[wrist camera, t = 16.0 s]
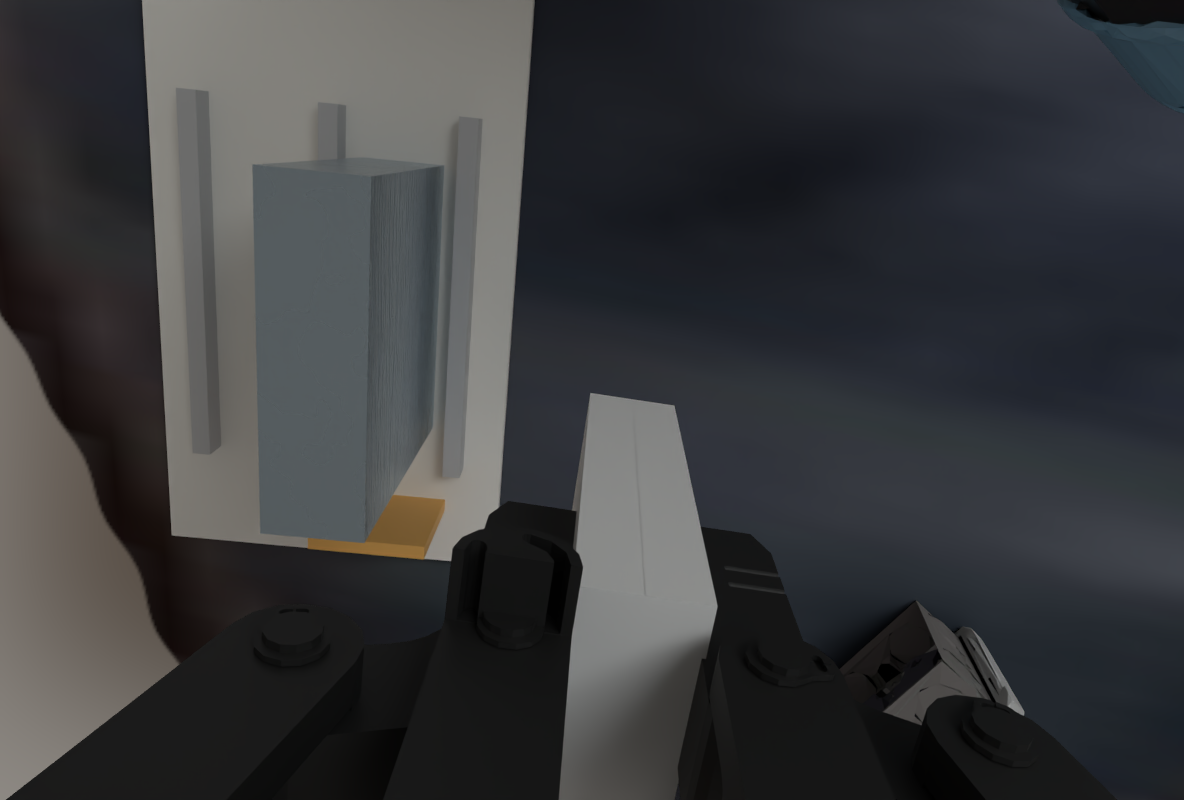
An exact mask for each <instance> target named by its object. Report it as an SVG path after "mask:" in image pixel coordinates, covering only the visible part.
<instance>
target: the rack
mask: <svg viewBox="0 0 1184 800" xmlns="http://www.w3.org/2000/svg"><path fill="white" fill-rule="evenodd" d="M534 6H535V0H142V9H143V27H144V45H145V63H146V81H147V99H148V117H149V135H150V153H151V171H152V189H153V207H154V225H155V243H156V261H157V279H158V297H159V315H160V333H161V351H162V369H163V387H164V405H165V423H166V441H167V459H168V477H169V495H170V513H171V531H172V535H173V536H184V537H194V538H205V539H216V540H227V541H238V542H249V543H259V544H270V545H281V546H292V547H303V548H308V549H316V550H326V551H337V552H348V553H359V554H370V555H381V556H391V557H402V558H413V559H433V560H443V561H451V558H452V549H453V547H454V546H455V545H456V543H457V542H458V541H459V540H460V539H461V538H462V537H463V536H466V535H468V534H470V533H472V532H475V531H477V530H480V529H484V528H485V525H486V522H487V519H488V516H489V514H491V513H492V512H493V511H495V510H496V509H498V508H499V506H500V492H501V477H502V463H503V449H504V434H505V420H506V406H507V392H508V377H509V363H510V349H511V334H512V320H513V306H514V292H515V277H516V263H517V249H518V234H519V220H520V206H521V191H522V177H523V163H524V149H525V134H526V120H527V106H528V91H529V77H530V63H531V49H532V34H533V20H534ZM360 157H365V158H375V159H385V160H395V161H405V162H415V163H425V164H435V165H444V184H443V207H442V230H441V253H440V276H439V299H438V322H437V345H436V368H435V391H434V414H433V428H432V430H431V432H430V433H429V435H428V437H427V438H426V440H425V442H424V443H423V445H422V447H421V448H420V450H419V452H418V453H417V455H416V457H415V459H414V460H413V462H412V464H411V465H410V467H409V469H408V470H407V472H406V474H405V475H404V477H403V479H402V480H401V482H400V484H399V486H398V487H397V489H396V491H395V492H394V494H393V496H392V497H391V499H390V501H389V502H388V504H387V506H386V507H385V509H384V511H383V512H382V514H381V516H380V518H379V519H378V521H377V523H376V524H375V526H374V528H373V529H372V531H371V533H370V534H369V536H368V538H367V539H366V541H365V543H358V542H347V541H336V540H325V539H314V538H304V537H293V536H282V535H271V534H260V500H259V453H258V407H257V360H256V313H255V266H254V220H253V173H252V165H254V164H269V163H284V162H299V161H314V160H329V159H344V158H360Z"/></svg>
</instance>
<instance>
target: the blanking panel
mask: <svg viewBox="0 0 1184 800" xmlns="http://www.w3.org/2000/svg"><path fill="white" fill-rule="evenodd" d="M252 173H253V220H254V266H255V313H256V360H257V407H258V453H259V500H260V534H271V535H282V536H293V537H304V538H314V539H325V540H336V541H347V542H358V543H365V541H366V539H367V538H368V536H369V534H370V533H371V531H372V529H373V528H374V526H375V524H376V523H377V521H378V519H379V518H380V516H381V514H382V512H383V511H384V509H385V507H386V506H387V504H388V502H389V501H390V499H391V497H392V496H393V494H394V492H395V491H396V489H397V487H398V486H399V484H400V482H401V480H402V479H403V477H404V475H405V474H406V472H407V470H408V469H409V467H410V465H411V464H412V462H413V460H414V459H415V457H416V455H417V453H418V452H419V450H420V448H421V447H422V445H423V443H424V442H425V440H426V438H427V437H428V435H429V433H430V432H431V430H432V428H433V414H434V391H435V368H436V345H437V322H438V299H439V276H440V253H441V230H442V207H443V184H444V165H435V164H425V163H415V162H405V161H395V160H385V159H375V158H365V157H360V158H344V159H329V160H314V161H299V162H284V163H269V164H254V165H252Z"/></svg>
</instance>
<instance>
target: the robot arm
mask: <svg viewBox="0 0 1184 800" xmlns="http://www.w3.org/2000/svg"><path fill="white" fill-rule="evenodd" d="M1057 2H1058V3H1059V5H1060V6H1061V8H1062V9H1063V10H1064V12H1065V13H1066V14H1067V15H1068V16H1069V18H1070V19H1072V20H1073V21H1075V22H1076V23H1077V24H1079V25H1080V26H1081V27H1083V28H1085V29H1088V30H1090V31H1093V32H1094V33H1095V34H1096V35H1097V36H1098V37H1099V38H1100V40H1101V41H1102V42H1103V43H1104V44H1105V46H1106V47H1107V48H1108V49H1109V50H1110V51H1111V53H1112V54H1113V55H1114V56H1115V57H1116V59H1117V60H1118V61H1119V62H1120V63H1121V65H1122V66H1123V67H1124V68H1125V69H1126V70H1127V72H1128V73H1129V74H1130V75H1131V76H1132V78H1133V79H1134V80H1135V81H1136V82H1137V83H1138V85H1139V86H1140V87H1141V88H1142V89H1143V90H1144V91H1145V92H1146V93H1147V94H1148V95H1150V96H1151V97H1152V98H1154V99H1155V100H1157V101H1158V102H1160V103H1161V104H1163V105H1165V106H1167V107H1168V108H1170V109H1173V110H1175V111H1177V112H1179V113H1184V0H1057ZM678 781H679V788H680V798H681V800H1117V799H1116V798H1115V797H1114V796H1113V795H1112V794H1111V793H1110V792H1109V791H1108V790H1107V789H1106V788H1105V787H1104V786H1103V785H1102V784H1101V783H1100V782H1099V781H1098V780H1097V779H1096V778H1094V777H1093V776H1092V775H1091V774H1090V773H1089V772H1088V771H1087V770H1086V769H1085V768H1084V767H1083V766H1082V765H1081V764H1080V763H1079V762H1078V761H1077V760H1076V759H1075V758H1074V757H1073V756H1072V755H1071V754H1070V753H1069V752H1068V751H1067V750H1066V749H1065V748H1064V747H1063V746H1062V745H1061V744H1060V743H1059V742H1058V741H1057V740H1056V739H1055V738H1054V737H1053V736H1051V735H1050V734H1049V733H1047V732H1046V731H1045V730H1044V729H1042V728H1041V727H1040V726H1039V725H1037V724H1036V723H1035V722H1034V721H1032V720H1030V719H1029V718H1027V717H1025V716H1023V715H1021V714H1019V713H1017V712H1016V711H1014V710H1013V709H1011V708H1010V707H1008V706H1006V705H1003V704H1000V703H998V702H995V703H994V702H992V700H988V699H984V698H979V697H970V696H962V695H952V696H947V697H941V698H937V699H936V700H935V701H934V702H933V703H932V704H931V705H930V706H929V707H928V708H927V710H926V713H925V716H924V719H923V722H922V725H919V724H916V723H913V722H911V721H908V720H905V719H902V718H899V717H896V716H893V715H891V714H888V713H885V712H882V711H879V710H877V709H874V708H872V707H869V706H867V705H865V704H862V703H860V702H858V701H856V700H854V699H853V697H852V695H851V692H850V690H849V687H848V685H847V683H846V680H845V678H844V676H843V674H842V673H841V671H840V670H839V668H838V667H837V666H836V664H835V663H834V661H833V660H832V659H830V658H829V657H828V656H826V655H825V654H824V653H823V652H821V651H820V650H819V649H817V648H816V647H814V646H812V645H810V644H808V643H806V642H804V641H803V639H802V636H801V634H800V631H799V628H798V626H797V623H796V620H795V617H794V615H793V612H792V609H791V607H790V604H789V601H788V598H787V596H786V594H784V588H783V585H782V582H781V579H780V578H779V577H778V571H777V569H776V566H775V563H774V560H773V558H772V555H771V553H770V552H769V551H768V550H767V549H766V548H765V547H763V546H762V545H761V544H760V543H759V542H758V541H757V540H756V539H755V538H754V537H753V536H752V535H751V534H746V533H739V532H732V531H725V530H718V529H712V528H705V527H700V522H699V518H698V513H697V508H696V504H695V499H694V495H693V490H692V485H691V481H690V476H689V471H688V467H687V462H686V458H685V453H684V448H683V444H682V439H681V434H680V430H679V425H678V420H677V416H676V411H675V407H674V406H673V405H666V404H660V403H653V402H646V401H640V400H633V399H627V398H620V397H613V396H607V395H600V394H593V393H590V399H589V405H588V412H587V418H586V425H585V431H584V437H583V444H582V450H581V457H580V463H579V469H578V476H577V482H576V488H575V495H574V501H573V508H572V510H565V509H558V508H552V507H545V506H538V505H531V504H525V503H518V502H511V501H508V502H506V503H505V504H503V505H502V506H501V507H499V508H498V509H496V510H495V511H493V512H492V513H491V514H489V516H488V519H487V522H486V525H485V528H484V529H480V530H477V531H475V532H472V533H470V534H468V535H466V536H463V537H462V538H461V539H460V540H459V541H458V542H457V543H456V545H455V546H454V547H453V549H452V558H451V567H450V576H449V585H448V594H447V603H446V612H445V620H444V623H443V626H442V629H440V630H438V631H436V632H434V633H432V634H430V635H429V636H425V637H422V638H419V639H416V640H412V641H407V642H400V643H392V644H378V645H364V640H363V632H362V630H361V629H360V628H359V626H358V625H357V624H356V623H355V622H354V621H353V620H352V619H351V618H350V617H348V616H346V615H344V614H342V613H340V612H338V611H336V610H333V609H331V608H326V607H320V606H314V605H309V604H296V605H293V604H289V605H279V606H275V607H271V608H267V609H263V610H259V611H256V612H253V613H251V614H249V615H247V616H245V617H243V618H242V619H240V620H238V621H236V622H234V623H233V624H231V625H230V626H229V627H227V628H226V629H225V630H223V631H222V632H221V633H220V634H218V635H217V636H216V637H214V638H213V639H212V640H211V641H209V642H208V643H207V644H205V645H204V646H203V647H202V648H200V649H199V650H198V651H196V652H195V653H194V654H193V655H191V656H190V657H189V658H187V659H186V660H185V661H184V662H182V663H181V664H180V665H178V666H177V667H176V668H175V669H173V670H172V671H171V672H169V673H168V674H167V675H166V676H165V677H163V678H162V679H161V680H159V681H158V682H157V683H155V684H154V685H153V686H151V687H150V688H149V689H148V690H146V691H145V692H144V693H143V694H141V695H140V696H139V697H138V698H136V699H135V700H134V701H132V702H131V703H130V704H129V705H127V706H126V707H125V708H123V709H122V710H121V711H119V712H118V713H117V714H116V715H114V716H113V717H112V718H110V719H109V720H108V721H107V722H105V723H104V724H103V725H101V726H100V727H99V728H98V729H96V730H95V731H94V732H92V733H91V734H90V735H89V736H87V737H86V738H85V739H84V740H82V741H81V742H80V743H78V744H77V745H76V746H74V747H73V748H72V749H71V750H69V751H68V752H67V753H65V754H64V755H63V756H62V757H60V758H59V759H58V760H57V761H55V762H54V763H53V764H51V765H50V766H49V767H47V768H46V769H45V770H44V771H42V772H41V773H40V774H38V775H37V776H36V777H35V778H33V779H32V780H31V781H30V782H28V783H27V784H26V785H24V786H23V787H22V788H21V789H19V790H18V791H17V792H15V793H14V794H13V795H12V796H10V797H9V798H8V799H6V800H674V799H675V794H676V790H677V785H678Z"/></svg>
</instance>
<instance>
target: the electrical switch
mask: <svg viewBox="0 0 1184 800" xmlns="http://www.w3.org/2000/svg"><path fill="white" fill-rule="evenodd" d="M916 601H917V600H916ZM919 627H920V628H919ZM890 633H892V634H891V635H890V636H889V634H890ZM932 640H933V641H932ZM890 650H891V654H892V655H894V656H895V657H897V658H898V659H899V660H901V661H902V662H904V663H907V664H903V663H901V662H899V661H897V660H895V659H894V658H893V657H892V656H891V655H890ZM882 664H890V665H891V666H893V667H894V668H895V669H897V670H898V671H899V672H901V673H900V674H898V675H897V676H896V677H894V678H893V679H891V680H890V681H889V682H887V683H886V682H885V681H884V679H883V678H882V677H881V676H880V674H879V673H878V672H877V671H878V669H879V666H880V665H882ZM903 667H904V668H903ZM839 670H840V671H841V673H842V674H843V676H844V678H845V680H846V683H847V685H848V687H849V690H850V692H851V695H852V697H853V699H854V700H856V701H858V702H860V703H862V704H865V705H867V706H869V707H872V708H874V709H877V710H879V711H882V712H885V713H888V714H891V715H893V716H896V717H899V718H902V719H905V720H908V721H911V722H913V723H916V724H919V725H922V722H923V719H924V716H925V713H926V710H927V708H928V707H929V706H930V705H931V704H932V703H933V702H934V701H935V700H936V699H937V698H941V697H947V696H952V695H962V696H970V697H979V698H984V699H988V700H992V702H994V703H995V702H998V703H1000V704H1003V705H1006V706H1008V707H1010V708H1011V709H1013V710H1014V711H1016V712H1017V713H1019V714H1021V715H1023V716H1024V710H1023V709H1022V707H1021V705H1020V704H1019V702H1018V700H1017V698H1016V697H1015V695H1014V693H1013V692H1012V690H1011V688H1010V686H1009V685H1008V683H1007V681H1006V680H1005V678H1004V676H1003V675H1002V673H1001V671H1000V669H999V668H998V666H997V664H996V663H995V661H994V659H993V657H992V656H991V654H990V652H989V651H988V649H987V647H986V646H985V644H984V642H983V641H982V639H981V638H980V637H979V636H978V635H977V634H976V633H975V632H974V631H973V630H972V629H971V628H968V627H961V628H960V629H959V630H958V631H957V632H956V633H953V632H952V631H951V630H950V629H949V628H948V627H947V626H946V625H945V624H944V623H943V622H941V621H940V620H938V619H937V618H935V617H933V616H932V615H931V614H930V613H929V612H928V611H927V610H926V609H925V608H924V607H923V606H922V605H921V604H920V603H919V602H918V601H917V602H914V603H913V604H912V605H911V606H909V607H908V608H907V609H906V610H905V611H904V612H903V613H902V614H901V615H899V616H898V617H897V618H896V619H895V620H894V621H893V622H892V623H891V624H889V625H888V626H887V627H886V628H885V629H884V630H883V631H882V632H880V633H879V634H878V635H877V636H876V637H875V638H874V639H873V640H872V641H870V642H869V643H868V644H867V645H866V646H865V647H864V648H863V649H861V650H860V651H859V652H858V653H857V654H856V655H855V656H854V657H853V658H851V659H850V660H849V661H848V662H847V663H846V664H845V665H844V666H842V667H841V668H840V669H839ZM851 672H856V673H852V674H850V673H851ZM848 674H849V675H848ZM863 674H865V675H868V676H869V677H870V678H871V679H872V680H873V681H874V683H875V684H876V686H877V692H876V688H875V687H874V686H873V684H872V683H871V682H870V681H869V680H868V678H867V677H866V676H864V675H863ZM879 687H880V688H879Z"/></svg>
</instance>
